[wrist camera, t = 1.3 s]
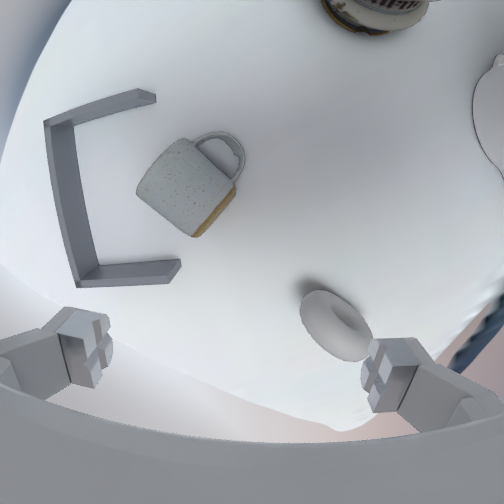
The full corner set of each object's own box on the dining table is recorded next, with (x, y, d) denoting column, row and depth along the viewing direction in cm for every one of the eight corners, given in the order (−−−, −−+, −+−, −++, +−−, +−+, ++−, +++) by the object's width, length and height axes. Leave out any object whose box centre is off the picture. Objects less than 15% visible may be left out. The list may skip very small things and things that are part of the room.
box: (155, 94, 32) (137, 88, 27) (181, 266, 39) (168, 283, 34) (66, 120, 33) (43, 120, 29) (95, 272, 40) (76, 288, 35)
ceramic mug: (203, 232, 37) (187, 253, 30) (151, 188, 36) (123, 198, 28) (264, 162, 34) (261, 166, 27) (207, 116, 33) (190, 108, 26)
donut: (291, 293, 39) (294, 340, 29) (308, 272, 38) (317, 314, 28) (351, 331, 40) (367, 381, 31) (368, 313, 39) (389, 360, 30)
